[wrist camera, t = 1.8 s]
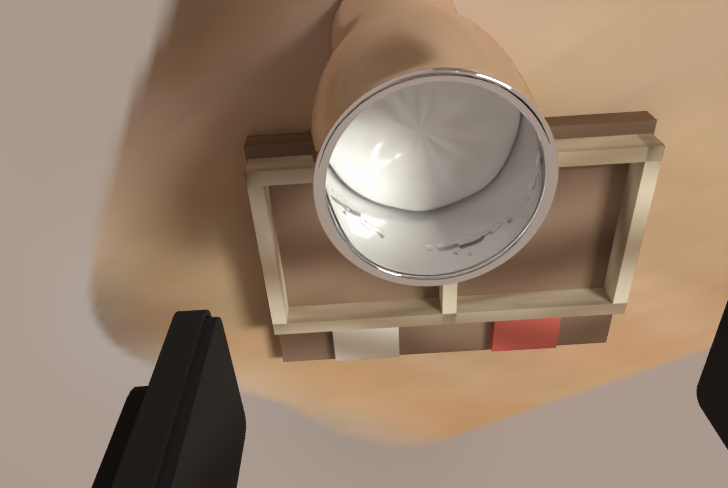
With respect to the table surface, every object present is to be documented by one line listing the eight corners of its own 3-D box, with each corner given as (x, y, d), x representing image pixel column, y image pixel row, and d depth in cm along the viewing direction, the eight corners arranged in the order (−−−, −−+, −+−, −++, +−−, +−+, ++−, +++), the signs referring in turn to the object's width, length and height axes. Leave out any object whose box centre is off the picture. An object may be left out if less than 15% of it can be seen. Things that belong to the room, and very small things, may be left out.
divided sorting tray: (247, 136, 31) (239, 159, 29) (646, 111, 31) (670, 132, 29) (285, 348, 39) (281, 379, 37) (599, 329, 39) (614, 359, 37)
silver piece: (427, 128, 31) (484, 320, 19) (301, 76, 29) (269, 249, 17) (496, -4, 27) (622, 124, 15) (356, -71, 26) (368, 10, 13)
